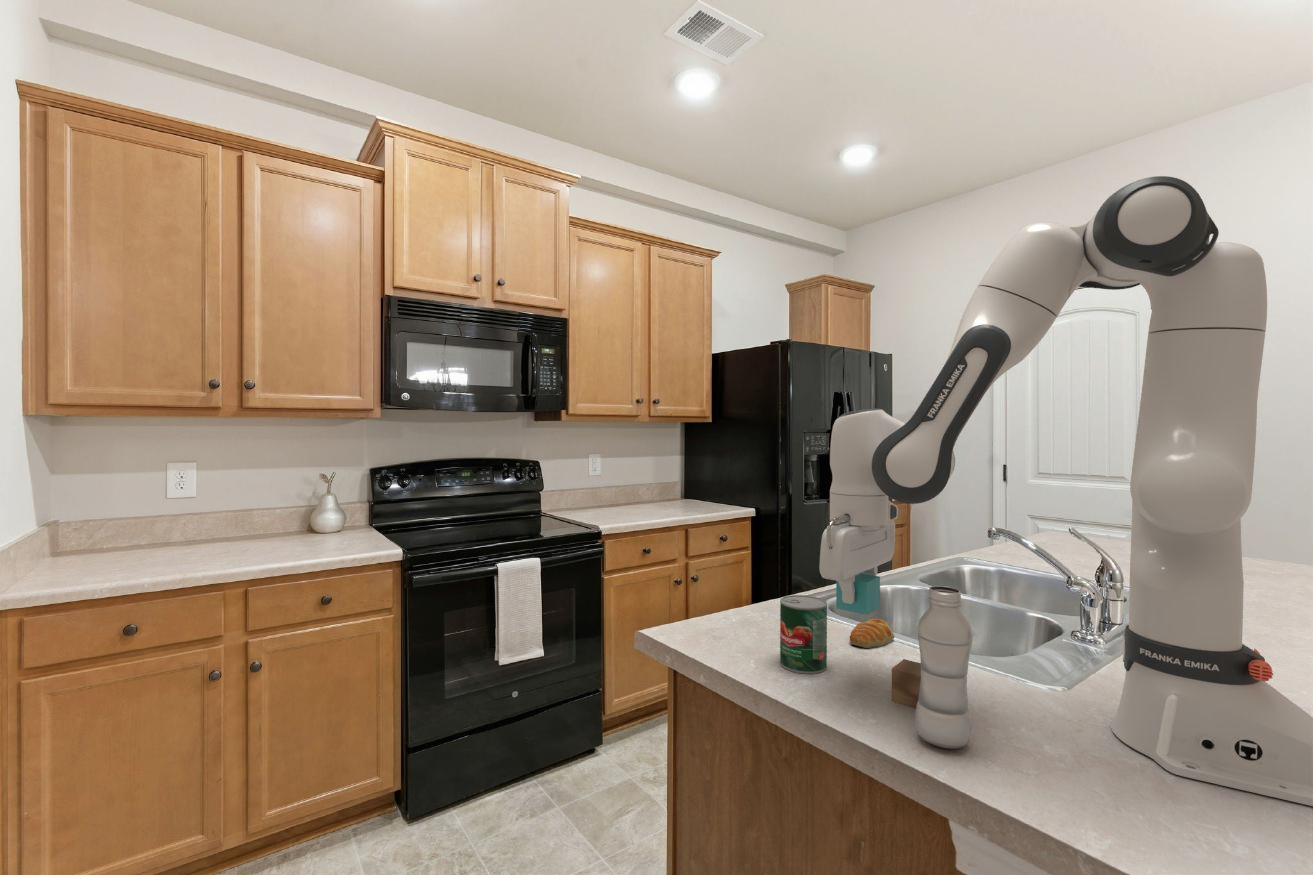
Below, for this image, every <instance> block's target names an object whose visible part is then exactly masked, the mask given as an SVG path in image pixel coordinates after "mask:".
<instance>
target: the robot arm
mask: <svg viewBox="0 0 1313 875" xmlns="http://www.w3.org/2000/svg"><path fill="white" fill-rule="evenodd" d="M1219 233H1220V232H1219V228H1218V227H1217V225H1216V224H1215V222H1214V220H1213V219H1212V217H1211V216H1210V214H1209V213H1208V211H1207V208H1206V205H1205V203H1204V201H1203V199H1202V197H1201V195H1200V194H1199V193H1198V191H1197V190H1196V188H1195V187H1193V185H1191V184H1190V183H1189V182H1186V181H1184V179H1180V178H1177V177H1174V176H1166V175H1164V176H1163V175H1161V176H1160V175H1159V176H1158V175H1157V176H1150V177H1144V178H1141V179H1138V180H1135V181H1133V182H1131V183H1129V184H1127V185H1125V186H1123V187H1121V188H1119V189H1117V190H1116V191H1115V192H1113V193H1112V194H1111V195H1110V196H1109V197H1108V198H1107V199H1105V201H1104V202H1103V203H1102V204H1101V206H1100V207H1099V209H1098V210H1097V211H1096V212H1095V214H1094V215H1093V216H1092V218H1091V219H1090V220H1088V221H1087V223H1084V224H1081V225H1079V226H1069V227H1068V226H1066V225H1064V224H1060V223H1057V222H1051V221H1050V222H1048V221H1047V222H1046V221H1042V222H1040V221H1039V222H1035V223H1034V222H1033V223H1030V224H1028V225H1026V226H1024V227H1023V228H1021V229H1020V230H1018V231H1017V232H1016V234H1014V236H1013V237H1012V238H1011V239H1010V241H1008V242H1007V244H1006V245H1005V246H1004V247H1003V249H1002V250H1001V251H1000V252H999V254H997V256H996V258H995V259H994V260H993V262H992V263H991V264H990V266H989V267H988V269H987V270H986V272H985V273H984V275H983V276H982V278H981V280H980V282H979V283H978V284H977V287H976V288H975V290H974V291H973V293H972V295H971V297H970V299H969V301H968V303H967V305H966V307H965V309H964V312H963V314H962V317H961V319H960V321H959V324H958V327H957V329H956V333H955V336H954V339H953V342H952V345H951V347H950V350H949V353H948V356H947V358H946V360H945V363H944V365H943V366H942V368H941V370H940V371H939V374H937V376H936V378H935V379H934V381H933V383H932V384H931V386H930V387H929V389H928V391H927V393H926V395H925V396H924V398H922V401H921V402H920V403H919V405H918V407H917V408H916V410H915V412H914V413H913V414H912V416H911V417H910V419H908V421H907V422H903V421H901V420H899V419H898V418H895V417H893V416H892V415H890V414H889V413H887V412H886V411H885V410H883V409H882V408H878V407H877V408H876V407H875V408H874V407H873V408H872V407H871V408H864V409H863V408H862V409H857V410H854V411H849V412H845V413H842V414H841V415H840V416H838V417H837V418H836V419H835V421H834V423H833V425H832V430H831V438H830V448H829V466H830V470H831V473H832V474H831V475H832V481H831V486H830V489H829V521H830V522H829V525H827V527H826V528H825V529H824V531H823V533H822V535H821V541H820V542H821V543H820V550H819V552H820V553H819V567H818V568H819V573H820V575H821V577H822V578H823V579H826V580H831V581H835V582H836V581H838V582H839V585H840V587H841V590H842V600H843V602H844V603H849V604H852V603H854V602H856V601H857V591H855V589H854V584H853V582H855V575H858V574H860V573H861V574H867V575H873V576H878V572H879V571H878V568H879V566H880V565H883V564H885V563H887V562H890V561H892V559H893V556H894V552H895V544H896V543H895V541H896V523H895V520H897V519H898V516H899V508H898V506H897V505H896V504H895V503H893V502H892V501H890V499H892V500H894V501H897V502H899V503H902V504H908V505H909V504H910V505H916V504H923V503H925V502H928V501H931V500H933V499H934V498H937V496H939V495H940V494H941V493H942V492H943V490H944V489H945V487H946V486H947V484H948V482H949V480H950V478H951V476H952V475H953V473H954V470H955V465H956V457H955V453H954V447H955V445H956V442H957V440H958V438H959V436H960V434H961V433H962V431H963V429H964V428H965V426H966V425H967V423H968V421H969V420H970V418H971V417H972V415H973V414H974V412H975V410H976V409H977V407H978V405H979V404H980V402H981V401H982V400H983V398H984V396H985V395H986V393H987V391H988V390H989V389H990V388H991V387H992V385H993V384H994V383H995V382H996V381H997V380H998V379H999V378H1001V377H1002V375H1004V374H1005V373H1006V372H1008V371H1009V370H1011V369H1012V368H1013V367H1015V366H1016V365H1018V364H1020V363H1021V362H1022V361H1023V360H1024V359H1025V358H1026V357H1027V356H1028V355H1029V354H1030V353H1031V352H1032V351H1033V350H1034V349H1035V348H1036V346H1038V344H1039V343H1040V342H1041V341H1042V339H1044V337H1045V335H1047V333H1048V332H1049V330H1050V329H1051V327H1052V326H1053V324H1054V323H1055V321H1056V319H1057V318H1058V316H1059V315H1060V313H1061V311H1062V309H1063V308H1064V306H1065V305H1066V303H1067V301H1068V300H1069V298H1070V297H1071V296H1072V295H1073V293H1074V292H1075V291H1076V290H1077V289H1078V288H1089V289H1090V288H1092V289H1100V290H1114V291H1115V290H1126V289H1131V288H1135V287H1138V286H1142V287H1143V289H1144V290H1145V292H1146V293H1147V294H1146V295H1148V298H1149V301H1150V310H1151V314H1150V319H1149V325H1148V333H1147V340H1146V348H1145V349H1146V350H1145V359H1144V370H1143V374H1142V375H1143V376H1142V385H1141V394H1140V396H1141V397H1140V402H1139V411H1138V418H1137V427H1136V433H1135V434H1136V435H1135V442H1134V443H1135V444H1134V449H1133V450H1134V451H1133V458H1132V467H1131V475H1130V482H1129V484H1130V486H1129V488H1130V489H1129V490H1130V495H1131V499H1132V501H1131V504H1132V505H1131V530H1130V531H1131V535H1130V536H1131V537H1130V555H1129V556H1130V558H1129V589H1128V590H1129V592H1128V593H1129V596H1128V597H1129V598H1128V599H1129V600H1128V624H1127V625H1126V626H1125V628H1124V633H1123V636H1122V662H1123V667H1124V669H1125V675H1124V682H1123V686H1122V693H1121V696H1120V701H1119V705H1118V707H1117V711H1116V713H1115V715H1114V719H1113V721H1112V722H1111V725H1110V726H1111V730H1112V732H1113V733H1114V735H1115V736H1116V737H1117V738H1118V739H1119V740H1120V741H1122V742H1123V743H1124V744H1125V745H1127V746H1128V747H1131V748H1132V749H1134V750H1136V751H1138V752H1140V753H1141V754H1143V755H1145V756H1147V757H1149V758H1151V759H1152V760H1154V761H1155V762H1156V763H1157V764H1158V765H1159V766H1161V767H1162V768H1163V769H1165V770H1166V771H1168V772H1169V773H1171V774H1174V775H1177V776H1181V777H1185V778H1189V779H1193V780H1197V781H1200V782H1201V781H1202V782H1206V783H1210V784H1211V783H1212V784H1214V785H1219V786H1224V787H1227V788H1232V789H1237V790H1242V791H1246V792H1249V793H1250V792H1251V793H1254V794H1258V795H1263V796H1267V797H1271V798H1275V799H1281V800H1285V801H1289V802H1293V803H1298V804H1301V805H1307V806H1311V807H1313V716H1312V715H1311V714H1309V713H1308V712H1307V711H1305V710H1304V709H1303V708H1301V707H1300V706H1298V704H1296V703H1295V702H1293V701H1292V700H1290V699H1289V698H1288V697H1286V695H1284V694H1282V693H1281V692H1280V691H1279V690H1277V689H1276V688H1274V687H1273V686H1272V685H1271V684H1269V683H1268V681H1270V679H1273V676H1274V673H1273V672H1274V671H1273V669H1272V666H1271V665H1270V664H1269V663H1268V662H1267V661H1266V659H1265V657H1264V656H1263V655H1261V653H1260V652H1259V651H1258V650H1257V649H1256V648H1254V649H1252V648H1251V647H1248V646H1247V645H1245V644H1243V627H1244V626H1243V621H1244V620H1243V619H1244V586H1245V585H1244V583H1245V582H1244V580H1245V579H1244V572H1243V571H1244V570H1243V569H1244V568H1243V556H1242V553H1243V550H1242V526H1241V525H1242V524H1241V522H1242V518H1243V516H1244V515H1245V514H1246V512H1247V511H1248V509H1249V507H1250V504H1251V501H1252V493H1253V483H1254V473H1255V472H1254V471H1255V470H1254V469H1255V458H1256V456H1255V455H1256V443H1257V442H1256V439H1257V419H1258V418H1257V417H1258V416H1257V415H1258V397H1259V395H1258V394H1259V389H1260V388H1259V386H1260V379H1261V373H1262V372H1261V371H1262V364H1263V363H1262V362H1263V356H1264V349H1265V339H1266V338H1265V337H1266V331H1267V320H1268V319H1267V318H1268V289H1267V287H1268V286H1267V277H1266V270H1265V264H1264V260H1263V257H1262V256H1261V254H1260V253H1259V252H1258V251H1257V250H1255V249H1254V248H1252V247H1250V246H1248V245H1244V244H1241V243H1236V242H1228V241H1227V242H1226V241H1218V237H1219V236H1220V235H1219ZM1211 235H1212V237H1211V240H1210V236H1211ZM889 498H890V499H889Z"/></svg>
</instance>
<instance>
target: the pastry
mask: <svg viewBox="0 0 1313 875" xmlns="http://www.w3.org/2000/svg"><path fill="white" fill-rule="evenodd" d="M895 637H896V636H895V634H894V632H893V630H892V628H891V627H890V626H889V623H887V621H885V620H884V619H881V618H874V619H872V618H869V619H868V620H866V621H863V622H859V623H857V624H856V625H855V626H854V628H853V629H852V630H851V632H850V636H849V643H850V645H854V646H858V647H861V648H865V649H872V648H880V647H882V646H884V645H885V646H886V645H888V644H890V643H892V642H893V640H894V639H895Z"/></svg>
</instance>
